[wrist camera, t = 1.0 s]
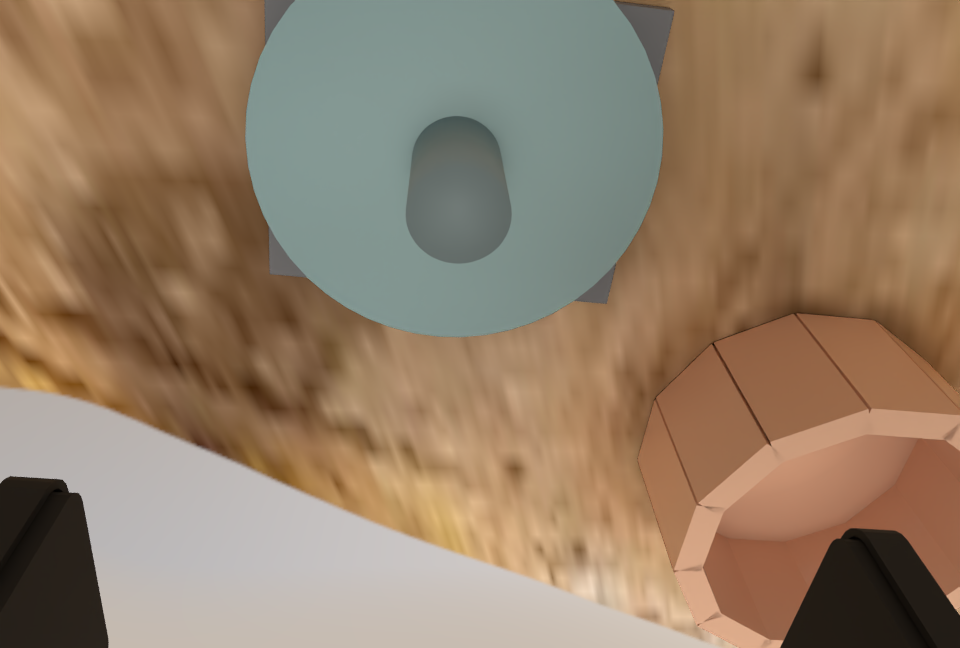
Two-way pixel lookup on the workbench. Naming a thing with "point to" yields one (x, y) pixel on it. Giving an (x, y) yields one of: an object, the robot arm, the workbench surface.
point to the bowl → (798, 466)
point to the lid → (454, 154)
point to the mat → (653, 36)
